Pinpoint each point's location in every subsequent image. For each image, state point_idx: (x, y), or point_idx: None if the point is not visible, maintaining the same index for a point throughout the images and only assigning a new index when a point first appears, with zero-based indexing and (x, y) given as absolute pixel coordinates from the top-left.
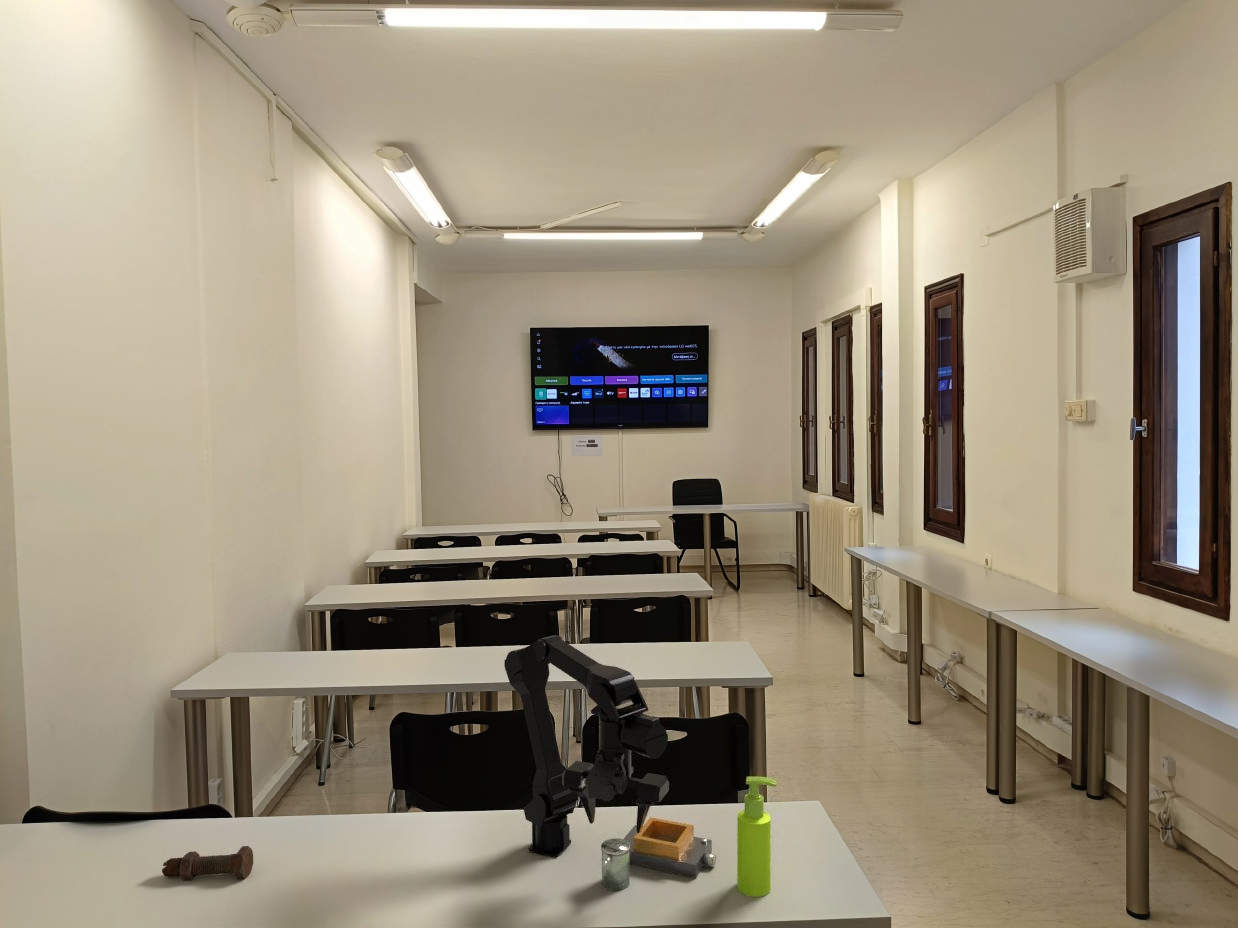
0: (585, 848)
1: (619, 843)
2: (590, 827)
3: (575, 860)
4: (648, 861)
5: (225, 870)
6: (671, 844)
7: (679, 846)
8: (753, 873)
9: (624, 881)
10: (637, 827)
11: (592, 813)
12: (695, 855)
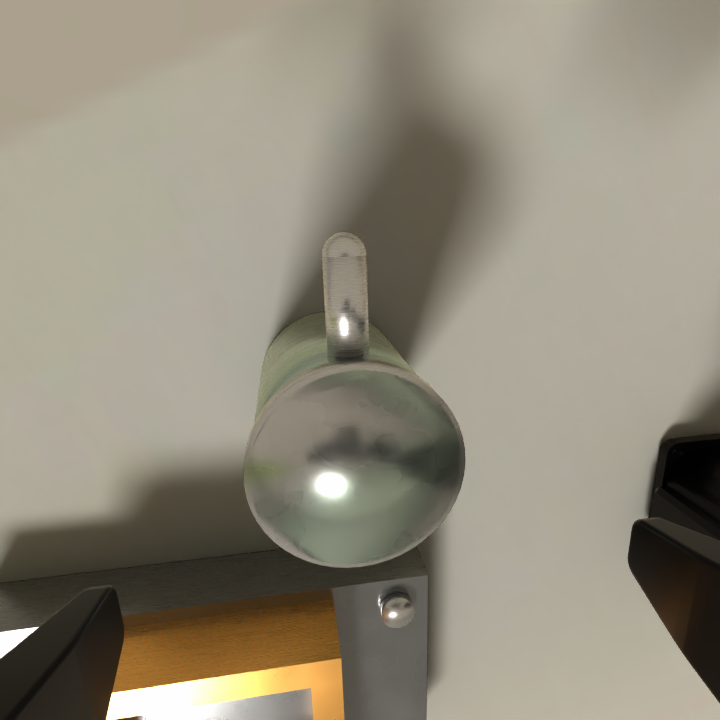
0: (570, 555)
1: (343, 509)
2: (605, 687)
3: (577, 458)
4: (244, 575)
5: None
6: None
7: None
8: None
9: (265, 362)
10: (68, 628)
11: (710, 608)
12: None
